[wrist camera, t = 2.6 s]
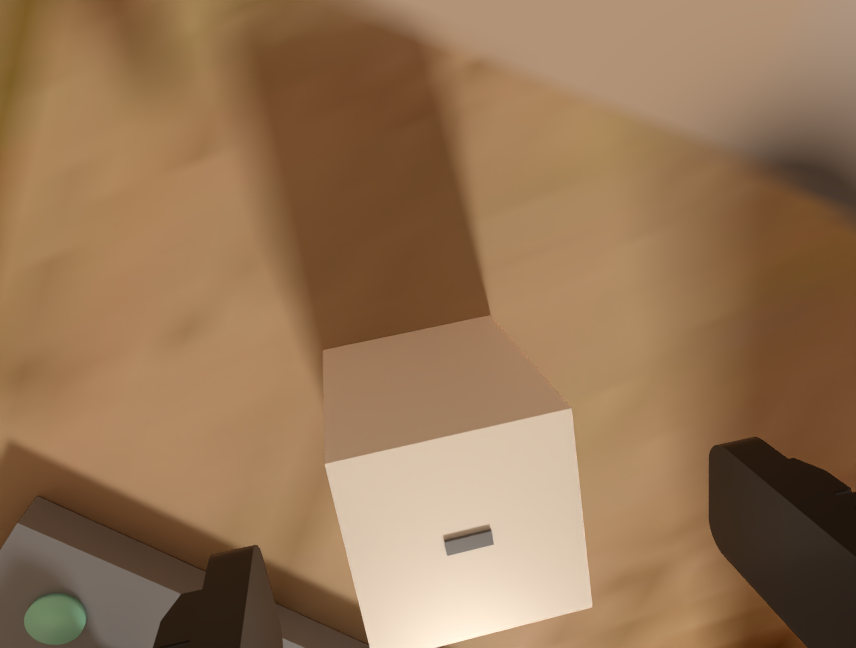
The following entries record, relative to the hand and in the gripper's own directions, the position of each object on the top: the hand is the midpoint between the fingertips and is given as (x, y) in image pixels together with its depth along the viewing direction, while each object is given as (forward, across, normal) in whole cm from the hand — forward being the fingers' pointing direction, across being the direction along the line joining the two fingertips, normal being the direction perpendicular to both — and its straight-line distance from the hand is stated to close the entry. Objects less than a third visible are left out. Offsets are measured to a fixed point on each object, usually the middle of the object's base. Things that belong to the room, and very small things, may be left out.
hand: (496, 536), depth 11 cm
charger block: (+7, 0, +1) cm, 7 cm away
